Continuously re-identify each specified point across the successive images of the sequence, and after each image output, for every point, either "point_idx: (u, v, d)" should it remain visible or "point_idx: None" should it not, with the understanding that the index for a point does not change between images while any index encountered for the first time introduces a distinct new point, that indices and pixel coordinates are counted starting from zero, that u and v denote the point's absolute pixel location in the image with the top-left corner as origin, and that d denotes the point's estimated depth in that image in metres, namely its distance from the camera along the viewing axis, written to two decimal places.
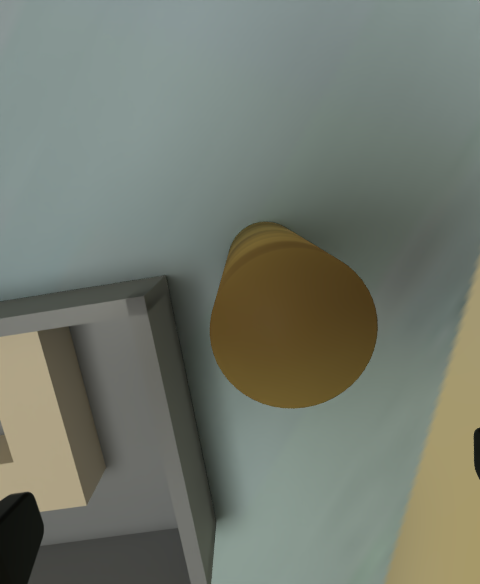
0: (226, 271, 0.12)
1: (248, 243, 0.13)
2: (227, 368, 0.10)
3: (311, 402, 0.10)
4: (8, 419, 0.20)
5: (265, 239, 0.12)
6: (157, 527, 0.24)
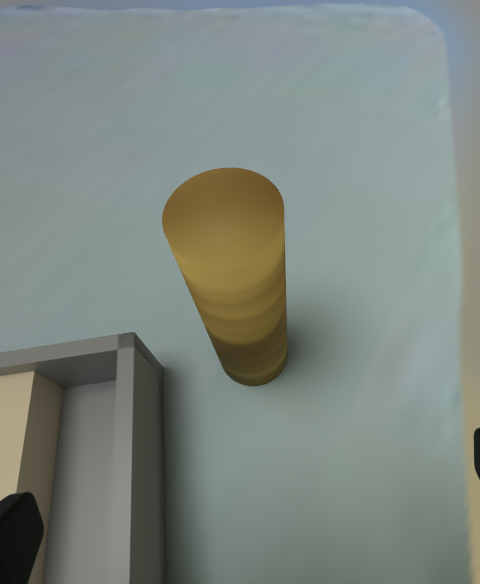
0: None
1: None
2: (171, 236, 0.13)
3: (234, 256, 0.12)
4: None
5: None
6: None
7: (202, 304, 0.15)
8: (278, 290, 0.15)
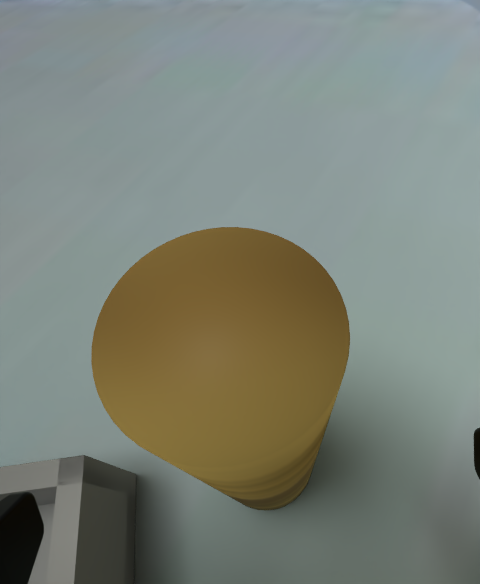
0: None
1: None
2: (107, 386, 0.06)
3: (244, 453, 0.05)
4: None
5: None
6: None
7: None
8: (319, 441, 0.08)
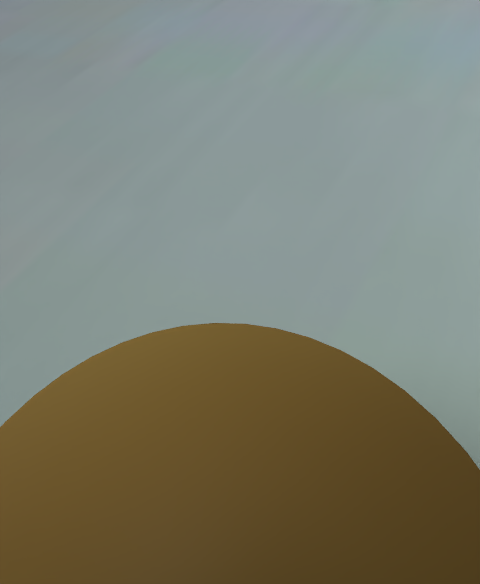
0: None
1: None
2: None
3: None
4: None
5: None
6: None
7: None
8: None
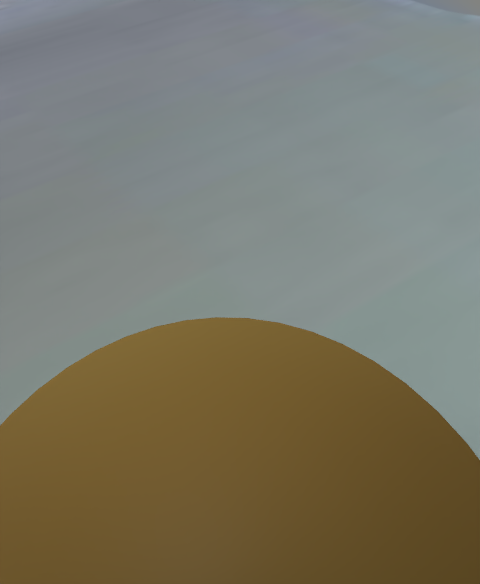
0: None
1: None
2: None
3: None
4: None
5: None
6: None
7: None
8: None
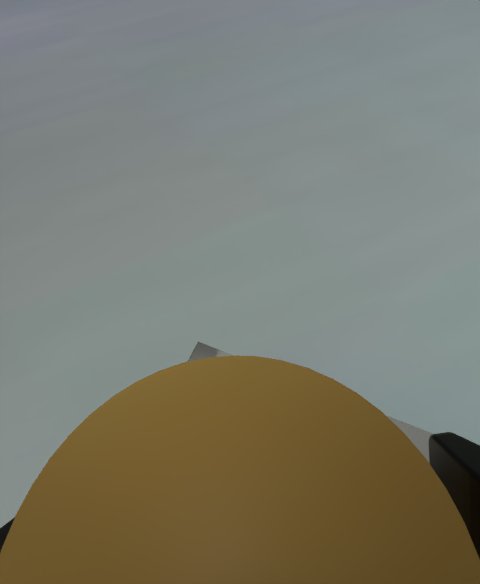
0: None
1: None
2: None
3: None
4: None
5: None
6: None
7: None
8: None
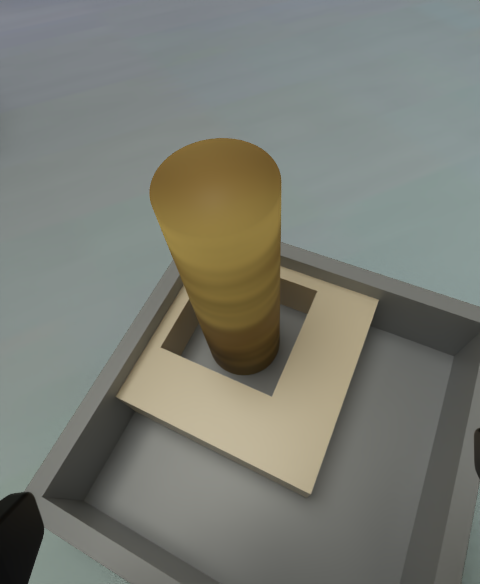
0: None
1: None
2: (158, 208, 0.12)
3: (226, 231, 0.11)
4: (299, 355, 0.19)
5: None
6: None
7: (191, 285, 0.14)
8: (272, 272, 0.14)
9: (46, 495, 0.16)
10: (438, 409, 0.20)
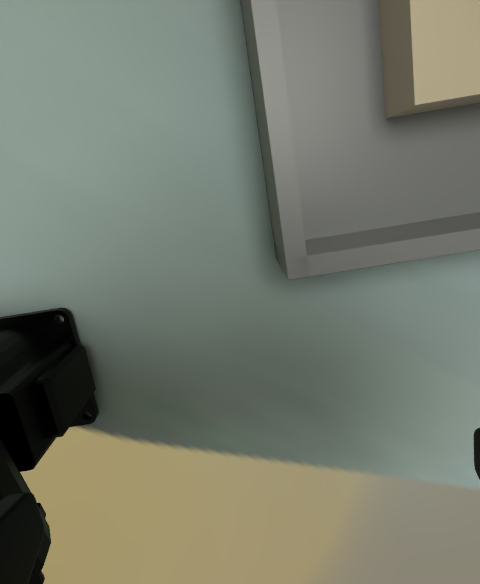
0: None
1: None
2: None
3: None
4: None
5: None
6: None
7: None
8: None
9: None
10: None
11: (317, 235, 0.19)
